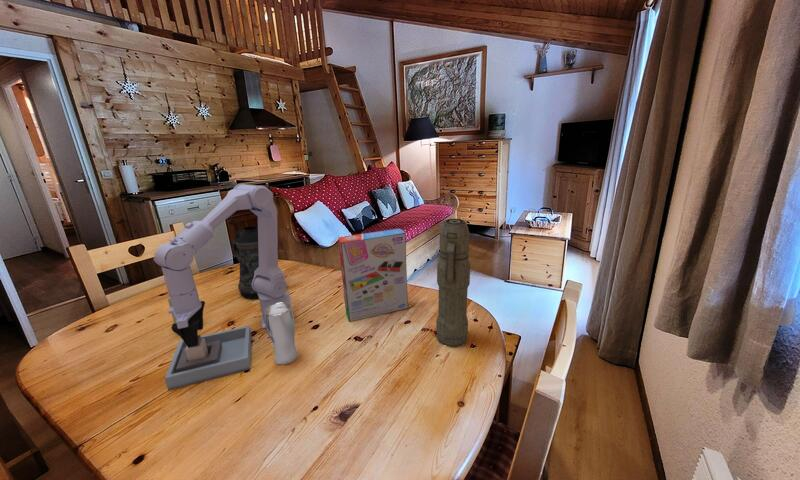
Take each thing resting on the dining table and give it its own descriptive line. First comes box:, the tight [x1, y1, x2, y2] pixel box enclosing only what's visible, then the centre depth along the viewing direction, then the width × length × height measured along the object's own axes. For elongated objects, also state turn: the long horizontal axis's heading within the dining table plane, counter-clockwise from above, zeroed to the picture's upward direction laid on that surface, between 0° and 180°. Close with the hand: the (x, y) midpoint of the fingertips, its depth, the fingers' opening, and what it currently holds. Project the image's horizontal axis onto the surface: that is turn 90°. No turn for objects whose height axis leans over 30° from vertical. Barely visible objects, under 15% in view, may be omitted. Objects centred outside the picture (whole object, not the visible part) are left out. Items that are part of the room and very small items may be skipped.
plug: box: [185, 334, 209, 362], centre depth 86 cm, size 4×4×7 cm
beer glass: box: [264, 302, 299, 366], centre depth 86 cm, size 7×7×15 cm
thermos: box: [435, 218, 471, 348], centre depth 89 cm, size 9×12×35 cm
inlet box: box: [164, 325, 253, 391], centre depth 88 cm, size 18×16×4 cm
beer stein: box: [231, 226, 259, 301], centre depth 123 cm, size 16×19×25 cm
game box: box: [337, 228, 409, 323], centre depth 105 cm, size 21×6×27 cm, turn 110°
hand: (195, 337), depth 85 cm, fingers open, 7 cm apart
